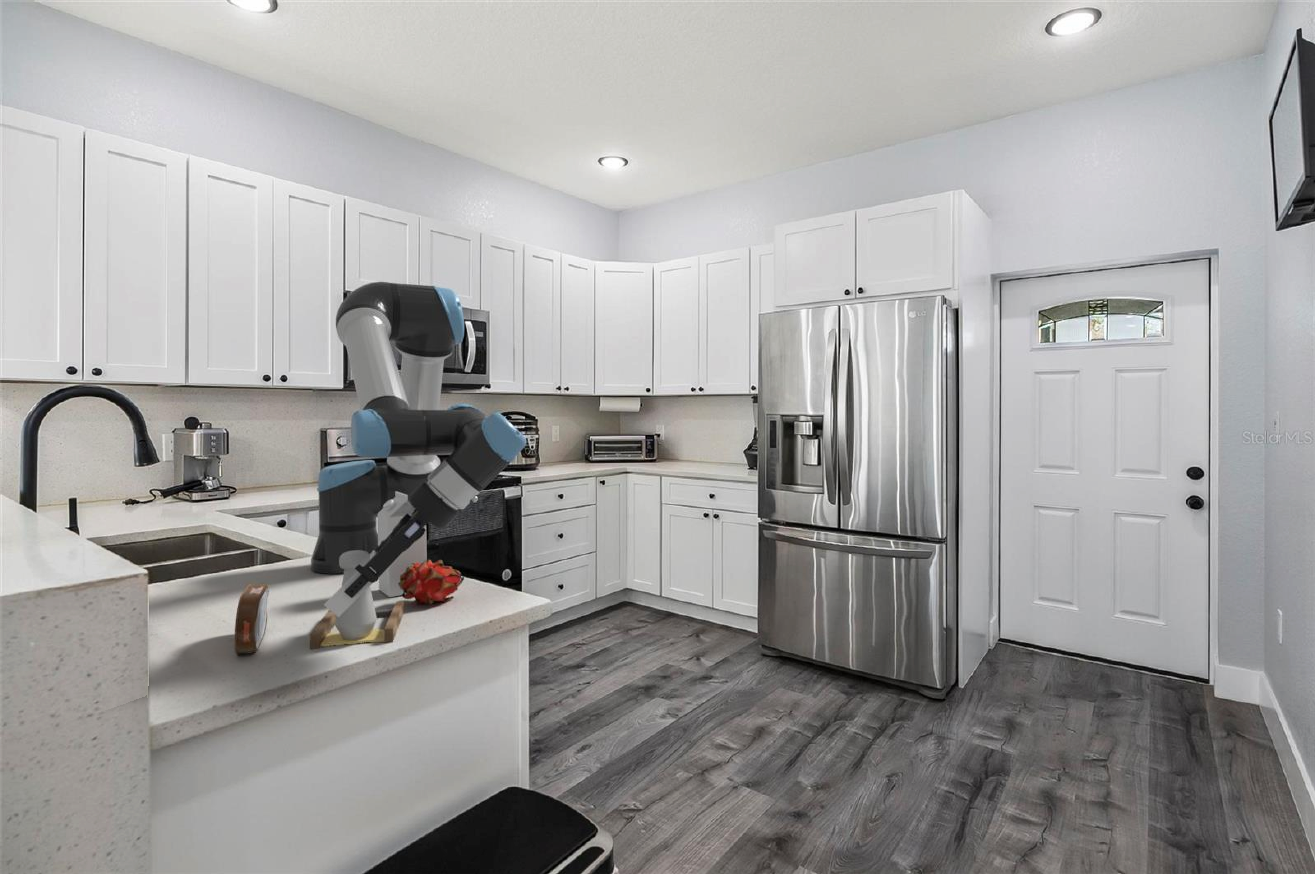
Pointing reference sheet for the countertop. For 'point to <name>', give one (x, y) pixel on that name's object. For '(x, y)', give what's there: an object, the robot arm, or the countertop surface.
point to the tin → (251, 619)
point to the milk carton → (415, 553)
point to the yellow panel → (337, 639)
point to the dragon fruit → (430, 582)
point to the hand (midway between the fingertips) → (341, 597)
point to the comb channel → (392, 623)
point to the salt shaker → (356, 601)
